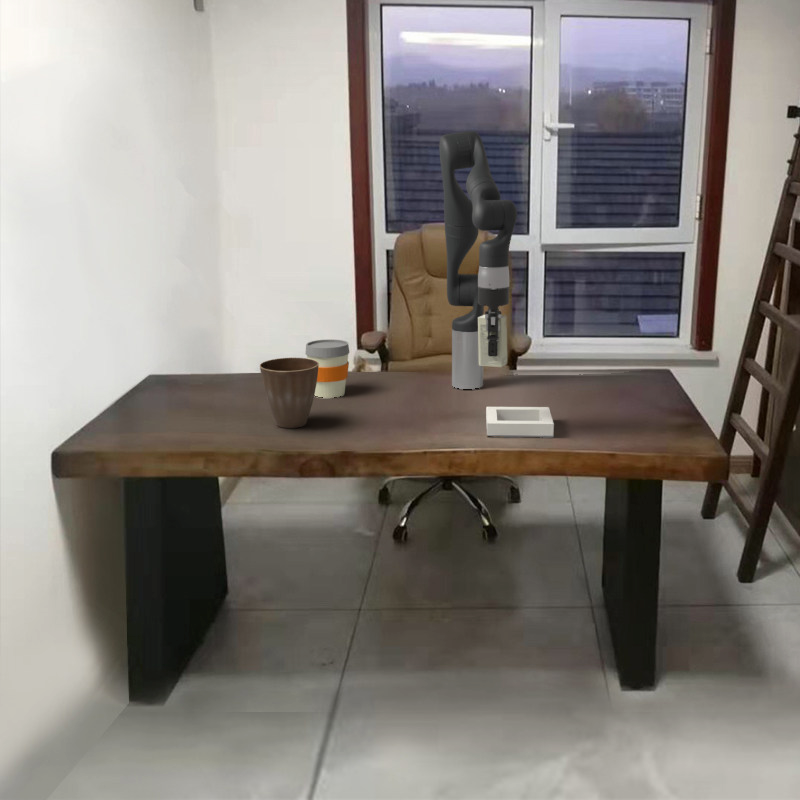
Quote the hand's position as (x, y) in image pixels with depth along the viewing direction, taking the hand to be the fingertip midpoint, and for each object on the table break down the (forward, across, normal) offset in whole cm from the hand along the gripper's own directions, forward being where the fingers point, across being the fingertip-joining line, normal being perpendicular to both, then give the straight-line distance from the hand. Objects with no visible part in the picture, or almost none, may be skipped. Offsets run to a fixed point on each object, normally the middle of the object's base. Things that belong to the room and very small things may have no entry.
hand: (492, 353), depth 222 cm
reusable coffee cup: (+20, -31, -47) cm, 60 cm away
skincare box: (+3, 0, 0) cm, 3 cm away
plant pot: (+20, -1, -51) cm, 55 cm away
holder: (+19, 0, +7) cm, 21 cm away
